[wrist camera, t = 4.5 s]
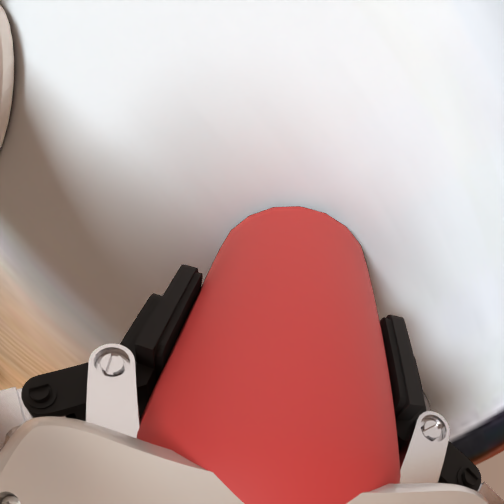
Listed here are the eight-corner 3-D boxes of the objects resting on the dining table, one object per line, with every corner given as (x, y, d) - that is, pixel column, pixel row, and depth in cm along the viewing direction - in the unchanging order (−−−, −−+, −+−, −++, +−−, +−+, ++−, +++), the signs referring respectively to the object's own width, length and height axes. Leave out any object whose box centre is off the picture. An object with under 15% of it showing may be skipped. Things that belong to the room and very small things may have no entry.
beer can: (354, 186, 12) (434, 546, 2) (369, 314, 15) (388, 568, 5) (200, 216, 14) (35, 486, 4) (243, 329, 17) (180, 556, 7)
